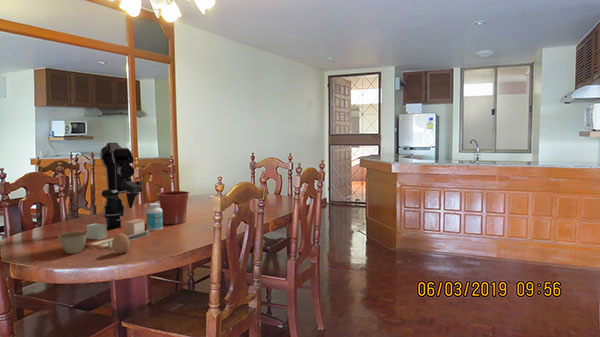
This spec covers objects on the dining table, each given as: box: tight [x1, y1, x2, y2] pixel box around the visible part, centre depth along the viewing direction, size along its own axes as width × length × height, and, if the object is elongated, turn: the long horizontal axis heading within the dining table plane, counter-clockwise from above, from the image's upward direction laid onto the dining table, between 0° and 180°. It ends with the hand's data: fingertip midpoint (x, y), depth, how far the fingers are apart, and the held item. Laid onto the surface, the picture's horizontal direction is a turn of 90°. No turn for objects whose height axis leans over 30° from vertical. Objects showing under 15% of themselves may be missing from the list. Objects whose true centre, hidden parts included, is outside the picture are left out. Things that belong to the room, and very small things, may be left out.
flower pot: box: [156, 190, 190, 225], centre depth 216 cm, size 16×16×16 cm
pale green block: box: [86, 222, 108, 241], centre depth 178 cm, size 5×7×7 cm
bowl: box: [58, 231, 88, 255], centre depth 160 cm, size 10×10×7 cm
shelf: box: [89, 229, 151, 251], centre depth 175 cm, size 12×22×3 cm, turn 157°
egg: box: [111, 232, 131, 255], centre depth 158 cm, size 6×6×8 cm
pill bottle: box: [145, 202, 164, 231], centre depth 196 cm, size 8×7×14 cm
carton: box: [124, 218, 146, 236], centre depth 181 cm, size 5×7×7 cm
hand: (123, 209), depth 182 cm, fingers open, 9 cm apart
